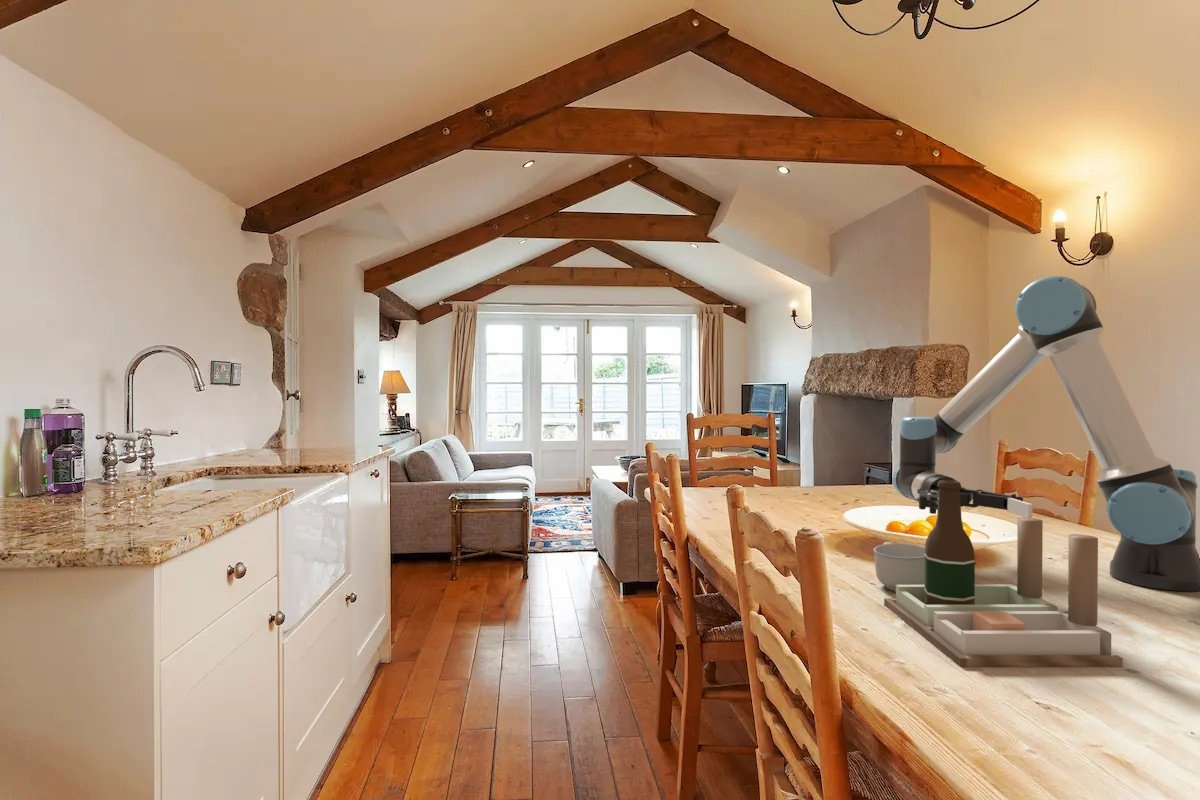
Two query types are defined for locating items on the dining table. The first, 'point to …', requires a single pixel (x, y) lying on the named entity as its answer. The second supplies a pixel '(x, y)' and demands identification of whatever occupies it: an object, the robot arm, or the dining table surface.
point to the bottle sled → (994, 595)
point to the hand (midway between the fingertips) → (993, 511)
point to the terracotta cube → (996, 622)
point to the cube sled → (1041, 618)
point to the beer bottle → (949, 553)
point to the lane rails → (1002, 659)
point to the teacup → (900, 564)
